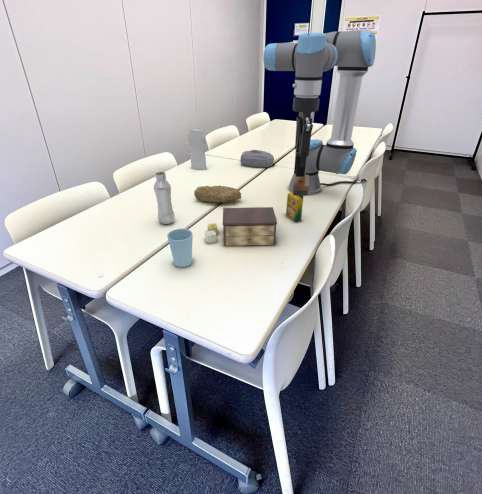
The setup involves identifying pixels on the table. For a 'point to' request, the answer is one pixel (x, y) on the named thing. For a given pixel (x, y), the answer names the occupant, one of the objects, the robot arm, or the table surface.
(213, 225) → the paper ball yellow
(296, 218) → the crayon box
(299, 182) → the brush
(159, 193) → the plastic bottle
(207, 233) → the white faceted lump
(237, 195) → the sponge
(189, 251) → the cup
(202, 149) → the tall pale column
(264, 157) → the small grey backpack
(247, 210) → the cabinet
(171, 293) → the table surface
